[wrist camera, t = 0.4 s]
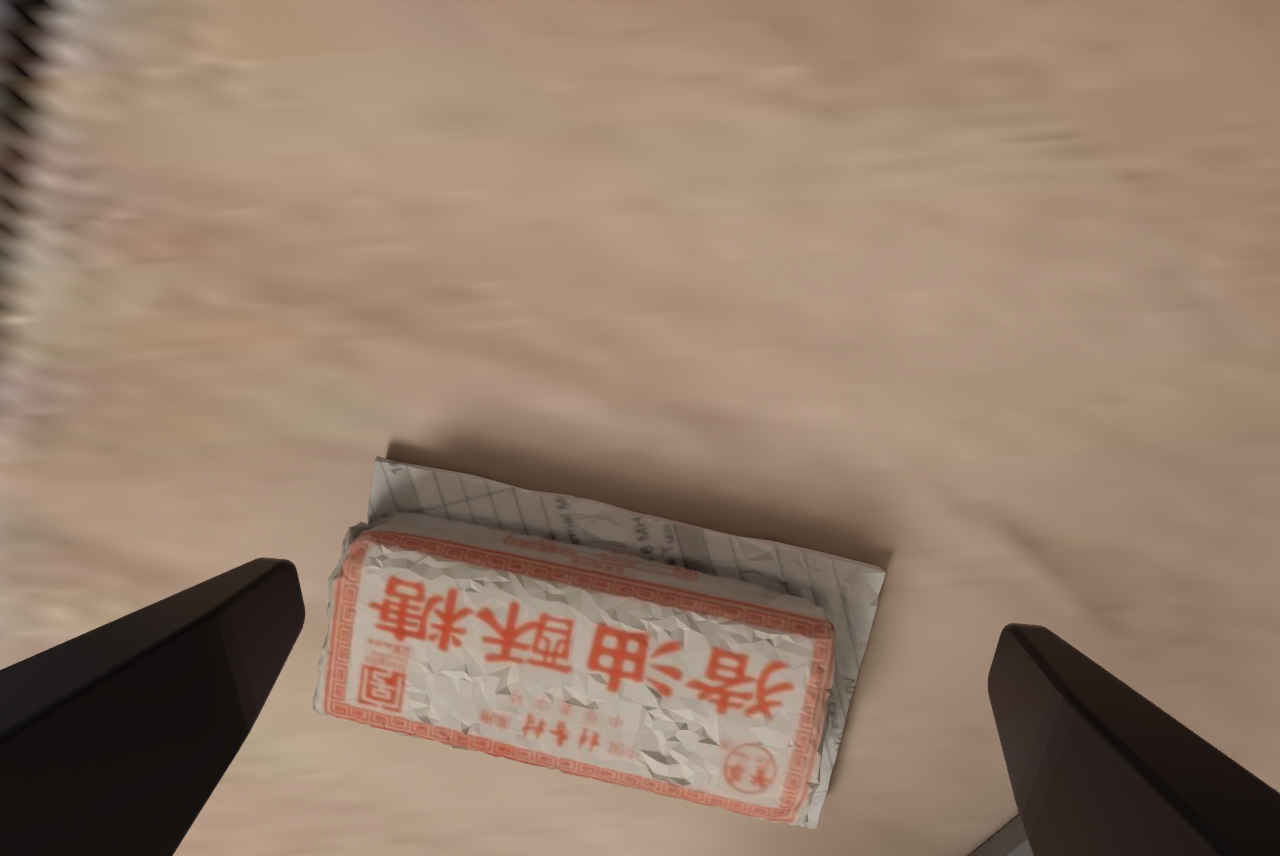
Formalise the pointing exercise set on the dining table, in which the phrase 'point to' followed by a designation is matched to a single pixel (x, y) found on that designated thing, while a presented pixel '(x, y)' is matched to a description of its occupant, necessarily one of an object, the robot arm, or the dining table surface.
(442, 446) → the dining table surface
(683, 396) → the dining table surface
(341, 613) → the packaged product
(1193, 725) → the dining table surface
